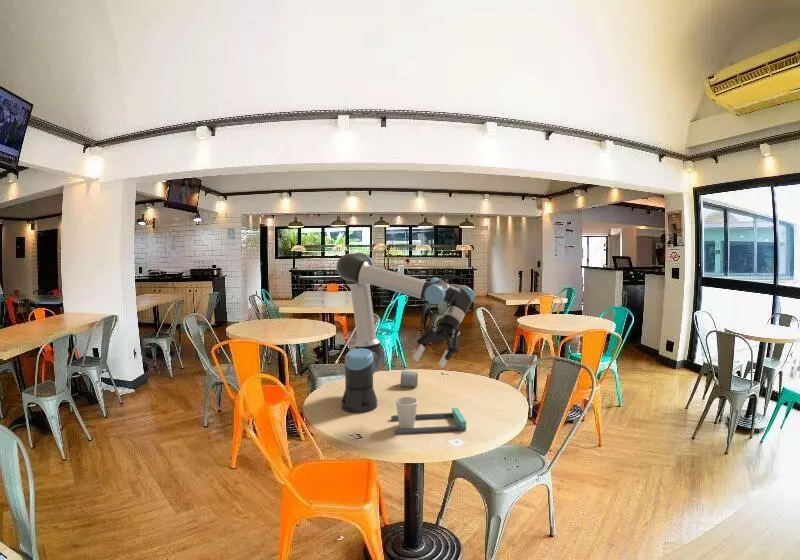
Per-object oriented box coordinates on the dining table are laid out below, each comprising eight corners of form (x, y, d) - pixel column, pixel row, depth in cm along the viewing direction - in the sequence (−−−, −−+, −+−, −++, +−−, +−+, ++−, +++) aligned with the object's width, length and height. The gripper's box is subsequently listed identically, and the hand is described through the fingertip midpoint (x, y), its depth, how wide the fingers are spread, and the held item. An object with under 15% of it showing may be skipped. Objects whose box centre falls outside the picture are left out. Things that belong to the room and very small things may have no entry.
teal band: (460, 430, 162) (460, 421, 161) (452, 416, 175) (452, 407, 175) (466, 430, 162) (466, 421, 162) (457, 416, 175) (457, 407, 175)
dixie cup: (404, 419, 172) (404, 394, 171) (422, 425, 166) (422, 399, 166) (391, 426, 165) (391, 400, 164) (408, 432, 160) (408, 406, 159)
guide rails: (394, 434, 159) (394, 430, 159) (391, 419, 172) (391, 415, 172) (464, 430, 162) (464, 426, 162) (455, 416, 175) (456, 412, 175)
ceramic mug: (417, 389, 208) (417, 373, 207) (400, 388, 208) (400, 372, 207) (417, 382, 218) (418, 367, 218) (401, 381, 219) (401, 366, 218)
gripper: (480, 329, 173) (456, 374, 164) (433, 321, 191) (409, 361, 182) (472, 317, 169) (447, 363, 160) (425, 310, 187) (400, 351, 178)
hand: (427, 362), depth 171 cm, fingers open, 13 cm apart
